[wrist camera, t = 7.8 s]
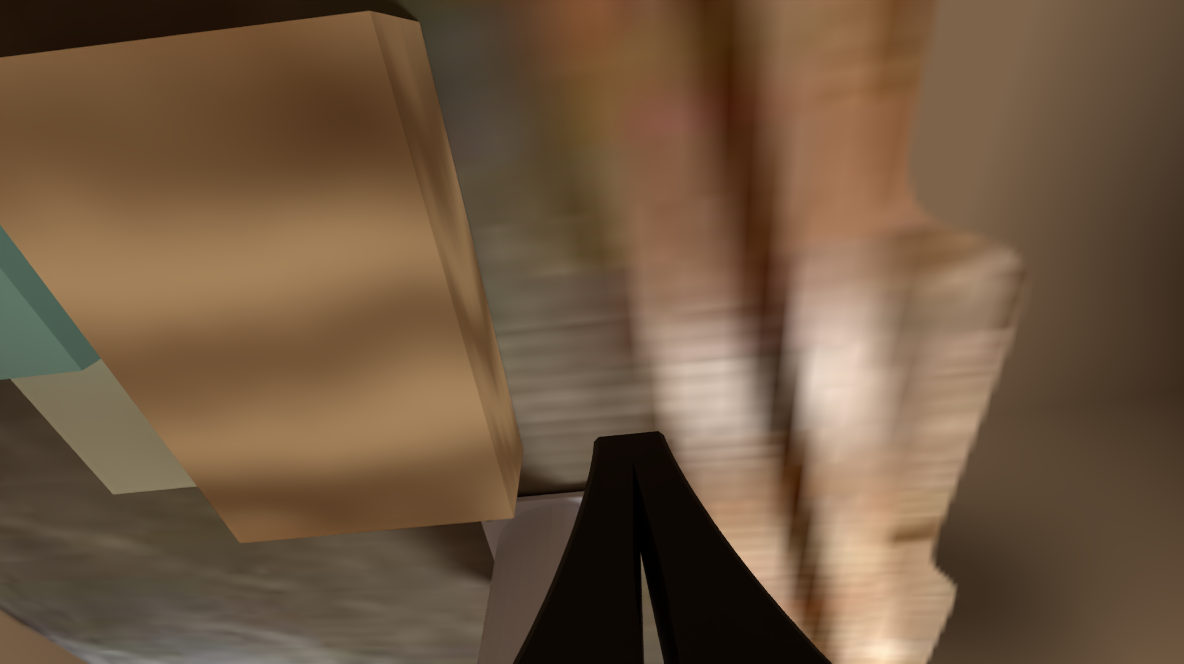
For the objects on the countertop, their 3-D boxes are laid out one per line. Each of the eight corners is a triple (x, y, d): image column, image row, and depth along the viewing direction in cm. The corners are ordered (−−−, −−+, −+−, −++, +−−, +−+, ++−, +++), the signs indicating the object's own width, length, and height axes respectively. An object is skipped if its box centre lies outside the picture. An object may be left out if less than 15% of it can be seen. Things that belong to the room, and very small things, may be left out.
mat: (279, 474, 24) (275, 478, 24) (117, 489, 24) (112, 494, 24) (31, 70, 15) (21, 71, 15) (-222, 102, 15) (-236, 103, 15)
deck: (523, 450, 24) (513, 518, 20) (288, 473, 24) (240, 543, 20) (419, 22, 15) (369, 10, 11) (46, 69, 15) (-115, 72, 11)
